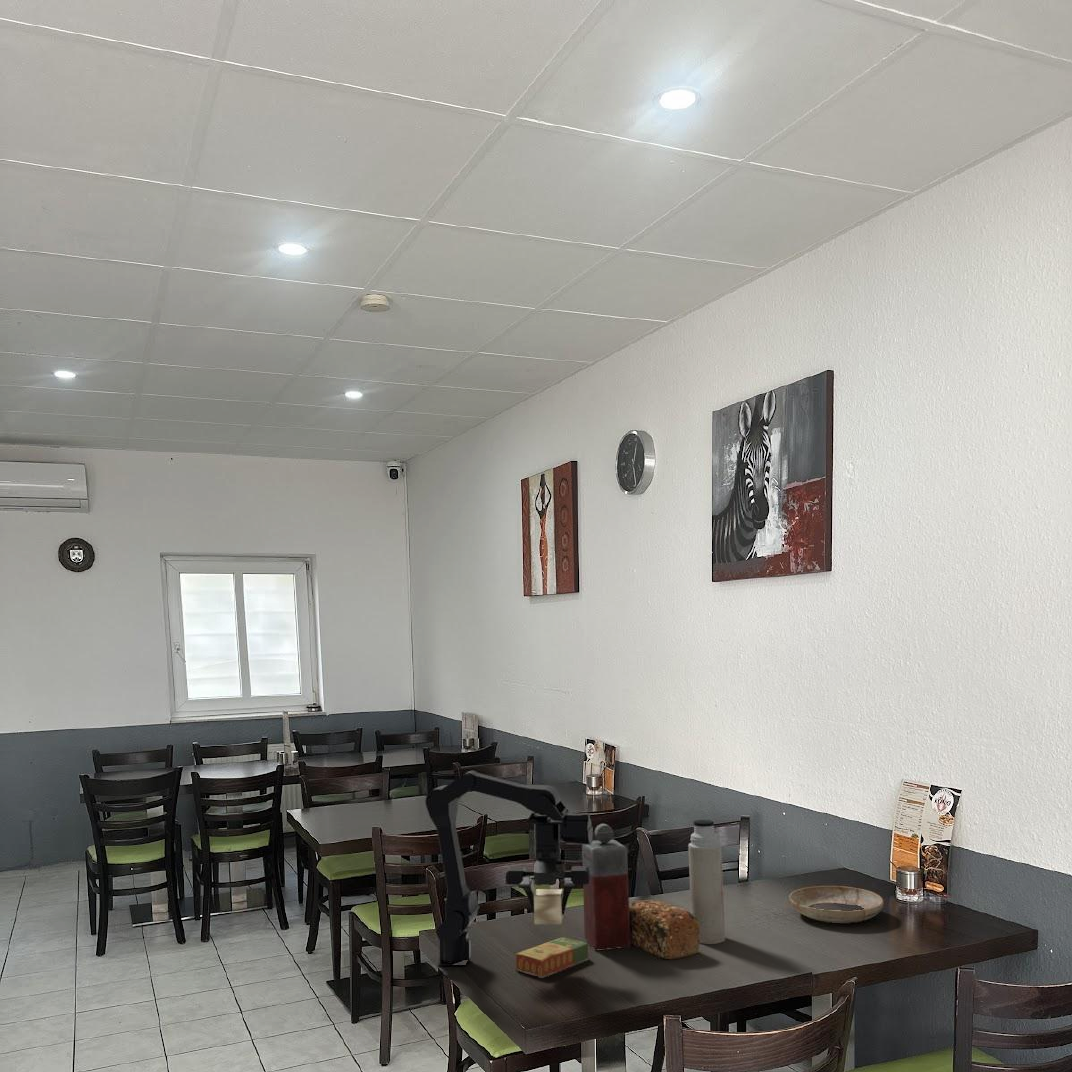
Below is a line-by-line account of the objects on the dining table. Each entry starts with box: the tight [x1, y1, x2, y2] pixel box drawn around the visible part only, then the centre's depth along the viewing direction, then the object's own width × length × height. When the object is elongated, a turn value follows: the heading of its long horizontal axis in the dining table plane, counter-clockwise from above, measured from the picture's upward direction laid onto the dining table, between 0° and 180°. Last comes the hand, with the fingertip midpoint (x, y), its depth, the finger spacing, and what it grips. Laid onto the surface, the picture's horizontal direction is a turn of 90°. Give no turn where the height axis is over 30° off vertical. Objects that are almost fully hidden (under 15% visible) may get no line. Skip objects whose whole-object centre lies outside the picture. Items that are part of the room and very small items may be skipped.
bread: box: [629, 899, 701, 960], centre depth 225 cm, size 19×11×10 cm, turn 27°
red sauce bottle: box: [581, 823, 631, 950], centre depth 231 cm, size 9×11×28 cm
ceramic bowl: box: [788, 885, 884, 924], centre depth 246 cm, size 23×24×5 cm
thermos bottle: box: [688, 819, 726, 945], centre depth 231 cm, size 8×8×28 cm
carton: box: [515, 936, 590, 976], centre depth 214 cm, size 8×16×4 cm, turn 137°
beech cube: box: [533, 888, 564, 925], centre depth 214 cm, size 6×6×6 cm
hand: (548, 914), depth 214 cm, fingers closed on beech cube, 6 cm apart
